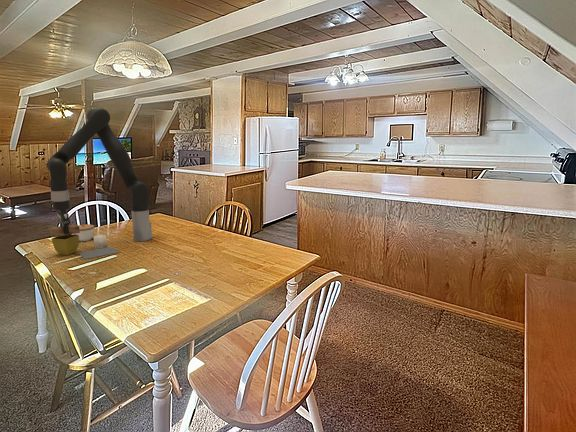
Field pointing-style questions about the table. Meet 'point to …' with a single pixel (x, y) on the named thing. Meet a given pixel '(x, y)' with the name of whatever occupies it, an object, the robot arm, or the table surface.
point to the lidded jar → (85, 232)
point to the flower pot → (66, 244)
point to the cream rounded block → (100, 241)
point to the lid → (60, 232)
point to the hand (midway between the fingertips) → (65, 232)
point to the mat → (98, 252)
